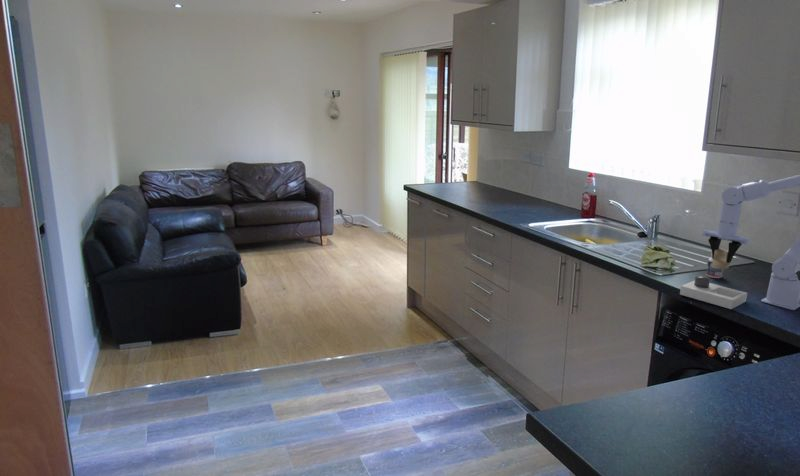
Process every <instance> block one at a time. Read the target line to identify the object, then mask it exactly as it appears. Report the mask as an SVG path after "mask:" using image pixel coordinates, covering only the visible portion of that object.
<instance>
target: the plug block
mask: <svg viewBox="0 0 800 476" xmlns="http://www.w3.org/2000/svg"><path fill="white" fill-rule="evenodd" d="M728 250H729V249H724V248H720V247H719V249H716V250H715V252H714V257H713V263H712V267H715V268H719V269H723V271H725V270H727V269H729V268H730V264H731V262H729V263H727V256H728Z"/></svg>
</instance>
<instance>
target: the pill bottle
mask: <svg viewBox="0 0 800 476" xmlns="http://www.w3.org/2000/svg"><path fill="white" fill-rule="evenodd" d="M712 263H713V259H712V252H711V254H710V257H709V258H708V260H707V265H706V271H705V276H707V277H709V278H713V279H720V278H722V277H723V271H724V270H723V269H719V268H715V267H712Z"/></svg>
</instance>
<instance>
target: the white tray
mask: <svg viewBox="0 0 800 476" xmlns="http://www.w3.org/2000/svg"><path fill="white" fill-rule="evenodd" d="M679 295H680V296H684V297H688V298H691V299H694V300H697V301H702V302H705V303H708V304H712V305H715V306H719V307H723V308H725V309H728V310H733V309H734V308H736V307H738V306H740V305H742V304H744V303H745V302H747V296H748V292H745V291H741V290H737V289H734V288H730V287H726V286H723V285H721V284H720V285H719V284H715V283H711V277H708V276H707V275H703V274H702V275H701V274H698V275H695V279H694V280H692V281H690V282H687V283H685V284H682V285H680V291H679Z"/></svg>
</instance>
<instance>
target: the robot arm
mask: <svg viewBox="0 0 800 476" xmlns="http://www.w3.org/2000/svg"><path fill="white" fill-rule="evenodd" d="M797 187H800V174H798V175H792V176H790V177H786V178H781V179H778V180H773V181H771V182H770V181H767V180H766V179H759V178H758V179H753V181H752V182H747V183H742V182H741V183H738V184H737V185H736V186H730V187H727V188H726V189H725V190H723V192H722V194H721V200H722V205H721V210H720V215H719V220H718V221H719V222H718V226H717V230H708V229H704V230H702V234H701V235H702V237H709V238H708V243H709V246H710V249H711V253H712V259H713V257H714V252H715V250H716V249H719V248H720V246H721V242H722V240H724V241H729V242H728V249H727V250H728V256H727V263H729V262H730V263H731V262H732V260H733V258H734V256H735V255H736V252H737V251H738V250H739V248H740V247H741V246H742V245H744V246H750V245H751V240H752V239H751V238H749V237H745V236H741V235H738V234H737V232H738V227H739V223H740V217H741V212H742V205H743V202H750V201H755V200H759V199H764V198H767V197H769V196H770V194H771V193H772V192H777V191H781V190H787V189H792V188H797ZM799 271H800V235H799V236H798V237H797V238H796V240H795V241H794V242H793V244H792V245H791V246H790V247H789V249H788V250H787V251H786V252H785V253H784V254H783V256H781V257H780V258H779V259H777V260H775V261H774V262H773V263H772V265H771V274H770V280H769V283H768V288H767V292H766V297H764V298H762V299H761V302H762V303H766V304H770V305H773V306H776V307H781V308H784V309H788V310H791V311H795V310H797V309H798V308H800V280H799V277H798V274H797V273H798V272H799Z"/></svg>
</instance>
